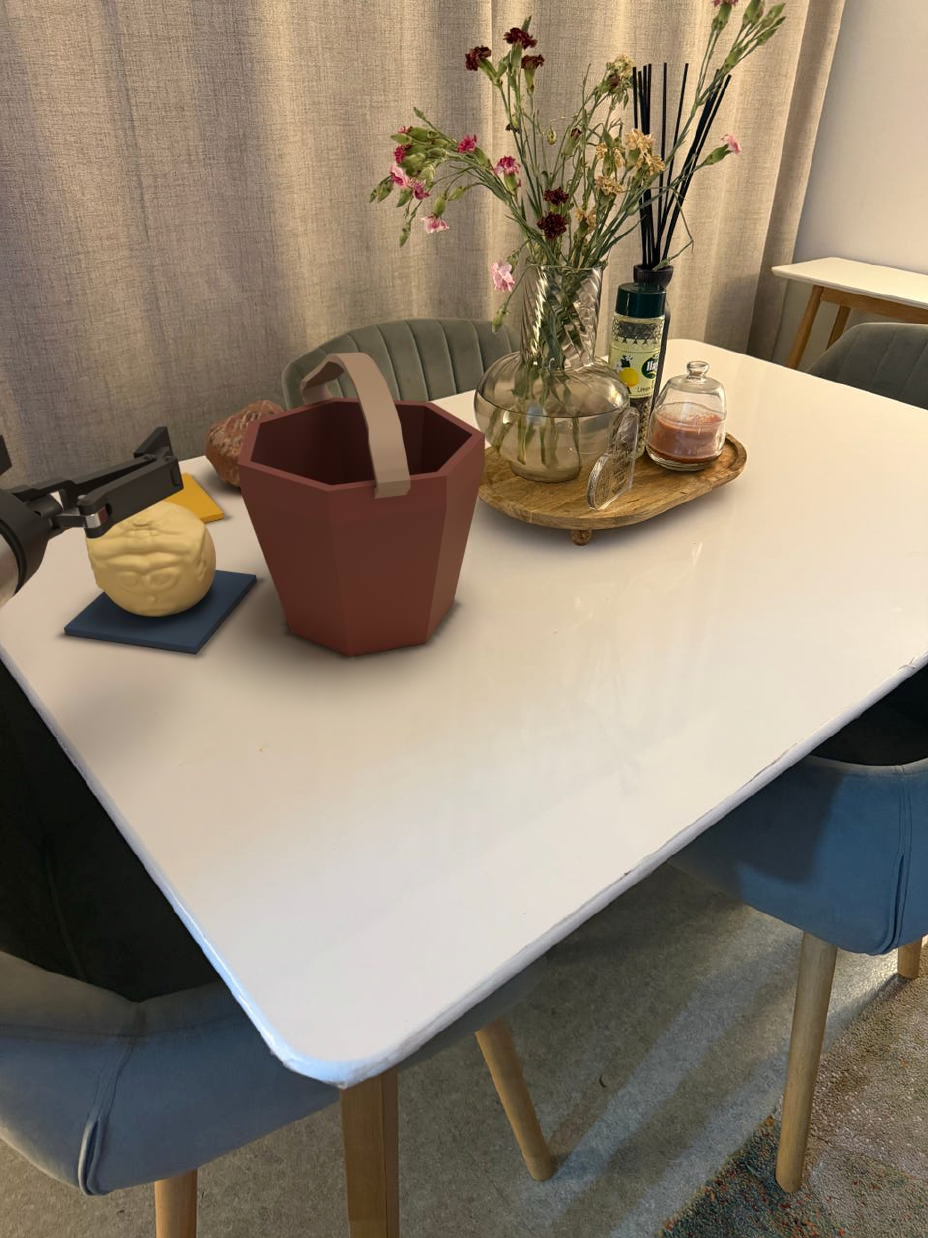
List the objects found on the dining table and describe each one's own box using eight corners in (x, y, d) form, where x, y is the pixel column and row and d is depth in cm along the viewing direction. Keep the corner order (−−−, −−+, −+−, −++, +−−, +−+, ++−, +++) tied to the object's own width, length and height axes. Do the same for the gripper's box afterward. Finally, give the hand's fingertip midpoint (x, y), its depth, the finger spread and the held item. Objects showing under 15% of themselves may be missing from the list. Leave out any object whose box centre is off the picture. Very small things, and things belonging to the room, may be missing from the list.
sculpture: (95, 636, 85) (68, 536, 79) (116, 574, 95) (94, 481, 89) (216, 627, 87) (200, 529, 81) (225, 567, 97) (211, 475, 91)
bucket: (276, 554, 101) (248, 331, 87) (469, 546, 103) (471, 326, 89) (255, 684, 80) (215, 420, 67) (496, 671, 82) (505, 411, 69)
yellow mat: (106, 546, 102) (105, 540, 102) (79, 501, 112) (77, 495, 111) (224, 518, 108) (223, 512, 108) (188, 477, 118) (187, 472, 118)
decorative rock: (264, 452, 125) (255, 383, 120) (322, 472, 120) (316, 400, 115) (191, 484, 116) (178, 410, 111) (250, 506, 111) (240, 430, 106)
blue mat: (65, 634, 87) (63, 627, 87) (139, 565, 98) (138, 559, 98) (196, 653, 84) (195, 647, 84) (257, 581, 96) (256, 574, 95)
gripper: (-213, 620, 57) (-50, 496, 75) (173, 601, 57) (242, 481, 75) (-266, 512, 53) (-81, 409, 72) (146, 491, 53) (225, 393, 71)
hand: (84, 446), depth 73 cm, fingers open, 13 cm apart
